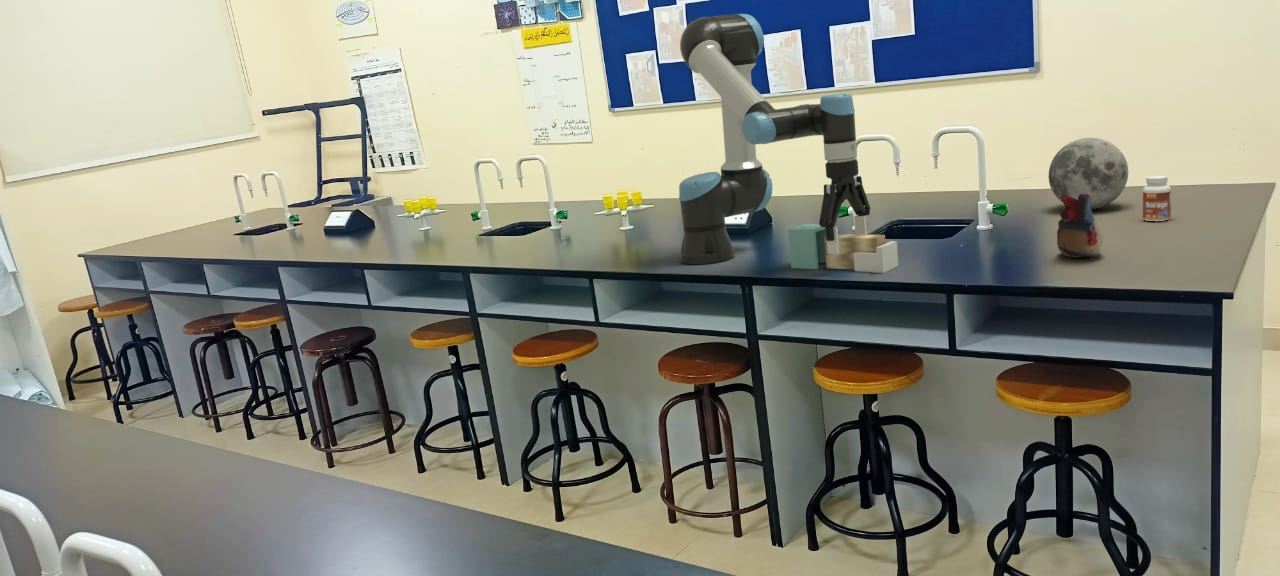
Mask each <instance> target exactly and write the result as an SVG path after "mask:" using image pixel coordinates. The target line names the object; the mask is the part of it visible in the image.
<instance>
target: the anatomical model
mask: <svg viewBox="0 0 1280 576" xmlns="http://www.w3.org/2000/svg"><path fill="white" fill-rule="evenodd" d="M1061 200H1062V202H1063V203H1062V202H1061V203H1062V204H1063V205H1064V207H1065V208H1064V209H1062V210H1061V211H1060V220H1059V221H1058V222H1057V224H1058V229H1057V231H1056V233H1057V234H1056V239H1057V241H1056V244H1057V249H1058V250H1059V252H1060V253H1061V254H1062V255H1063V256H1065V257H1067V258H1082V257H1083V258H1084V257H1089V258H1094V257H1098V256H1099V255H1101V251H1102V247H1103V244H1104V241H1103V235H1102V233H1101V229H1100V225H1099V224H1098V221H1097V220H1096V219H1095V216H1094V214H1093V211H1092V210H1091V207H1090V202H1091V197H1090V195H1088V194H1080V195H1079V196H1078V200H1077V199H1075V198H1073V197H1071V196H1070V195H1068V194H1063V195H1062V196H1061Z"/></svg>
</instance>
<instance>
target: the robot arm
mask: <svg viewBox="0 0 1280 576" xmlns="http://www.w3.org/2000/svg"><path fill="white" fill-rule="evenodd" d="M764 44H765V43H764V33H763V30H762V27H761V25H760V24H759V22H758V21H757V19H756V18H755V17H754V16H753V15H750V14H747V13H732V14H723V15H715V16H714V15H713V16H703V17H699V18H697V19H695V20H693V21H690V23H689V24H687V26H685V29H684V30H683V31H682V35H681V37H680V42H679V48H680V53H681V57H682V60H683V61H684V63H685V64H686V66H687V67H688V68H689V69H690V70H691V71H692V72H694V73H696V74H700V76H702V77H703V79H704V80H705V81H706V82H707V83H708V84H709V85H710V86H711V88H712V89H714V90H715V92H716V93H717V94H718V95H719V96H720V104H721V116H722V131H723V142H724V143H723V144H724V146H723V147H724V158H725V161H724V162H723V164H722V165H721V166H720V172H718V171H709V172H708V171H707V172H704V173H698V174H694V175H692V176H689V177H687V178H684V179H682V181H681V182H680V183H679V185H678V186H679V187H678V189H679V190H678V191H679V192H678V193H679V196H678V198H679V202H680V210H681V219H682V226H683V236H682V237H683V239H682V243H681V251H680V253H679V254H680V255H679V256H680V262H681V263H682V264H686V265H707V264H714V263H715V264H716V263H720V262H724V261H728V260H731V259H733V258H735V256H736V253H735V247H734V245H733V244H732V240H731V238H730V236H729V234H728V231H727V229H726V228H727V227H726V219H725V218H729V217H733V216H739V215H743V214H752V213H755V212H757V211H761V210H763V209H764V208H766V207H767V205H769V203H770V201H771V199H772V195H773V181H772V178H771V177H770V174H769V172H768V171H767V170H766V169H764V168H763V163H762V162H761V161H759V160H758V159H757V150H756V145H767V144H771V143H775V142H781V141H782V142H783V141H786V140H787V141H788V140H793V139H794V140H795V139H800V138H806V137H812V136H813V137H814V136H815V137H816V136H822V137H823V140H822V141H823V151H824V160H825V161H827V162H826V163H825V165H824V166H825V176H826V178H828V179H830V180H831V184H824V185H823V197H822V198H823V199H822V204H821V209H820V215H819V223H818V224H819V225H820V226H821V227H825V229H826V239H827V251H828V254H839V242H838V234H839V233H838V232H839V231H838V226H836V223H837V220H838V217H839V214H840V210H841V207H842V204H843V203H844V202H845V201H846V200H847V201H848V203H849V205H850V206H851V208H852V210H853V212H854V213H855V215H854V216H853V220H854V232H855V235H868V232H867V218H866V217H867V216H870V215H871V214H870V211H871V206H870V203H869V200H868V198H867V194H866V191H865V188H864V185H863V179H862V176H861V175H859V163H858V162H859V161H858V159H856V158H857V156H858V151H857V149H858V145H857V136H856V121H855V117H856V115H855V111H856V109H855V105H854V100H853V95H852V94H851V93H848V92H843V93H835V94H834V93H833V94H826V95H822V96H821V97H820V99H819V100H820V103H815V104H810V103H805V104H800V105H796V106H792V107H784V108H778V109H776V108H774V107H773V105H771V104H770V103H769V102H768V100H767V99H765V97H764V96H763V95H762V94H761V93H760V92H759V91H758V90H757V89H756V87H754V86H753V84H752V73H751V72H752V70H753V69H754V67H755V66H756V65H757V57H758V56H760V55H761V54H762V51H763V48H764Z"/></svg>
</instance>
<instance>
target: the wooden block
mask: <svg viewBox="0 0 1280 576" xmlns="http://www.w3.org/2000/svg"><path fill="white" fill-rule="evenodd" d="M824 240H825V252H826V263H825V264H826V269H839V270H855V268H854V255H853V253H855V252H862V253H876V247H879V246H881V245H883V244H886V235H885V234H867V235H855V234H847V233H846V234H843V233H838V242H839V254H828V251H827V239H826V237H824Z"/></svg>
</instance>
